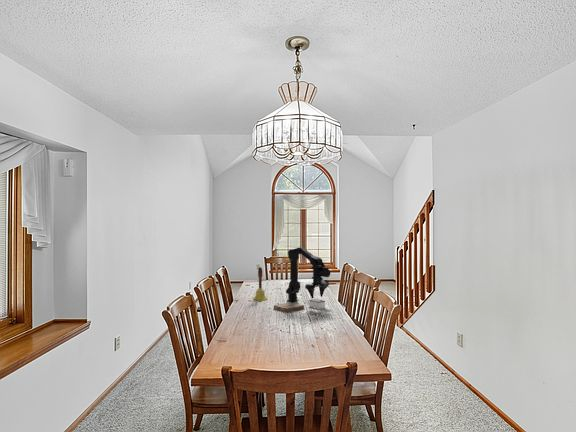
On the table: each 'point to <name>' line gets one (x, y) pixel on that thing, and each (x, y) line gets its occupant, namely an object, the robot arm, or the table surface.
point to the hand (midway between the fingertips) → (317, 297)
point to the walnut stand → (288, 307)
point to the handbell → (260, 288)
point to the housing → (317, 303)
